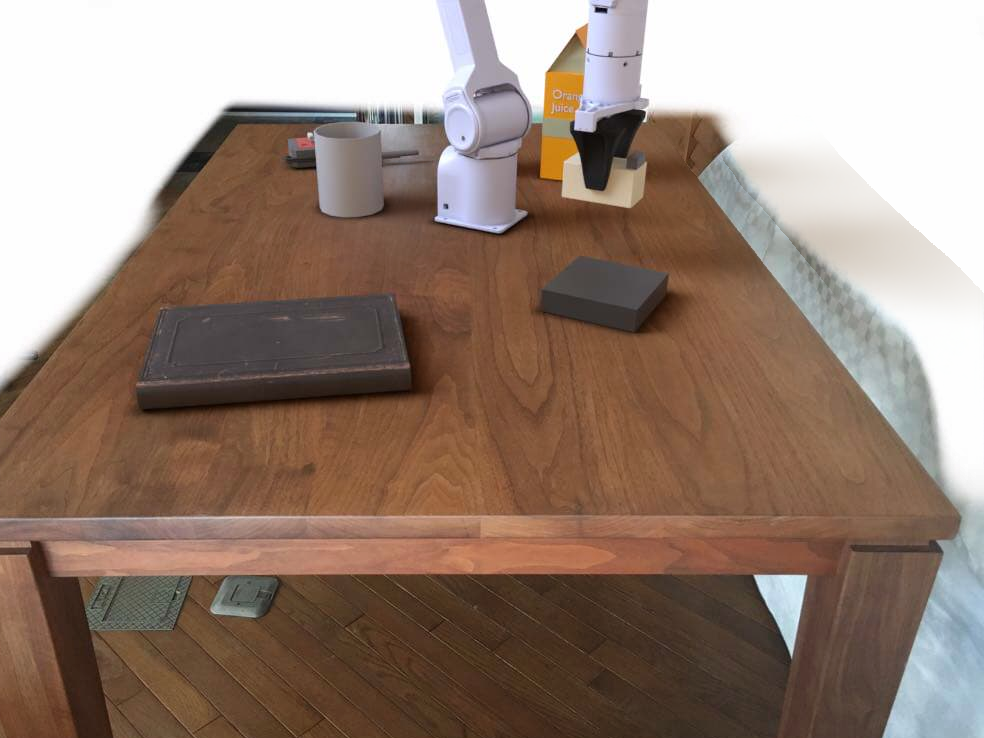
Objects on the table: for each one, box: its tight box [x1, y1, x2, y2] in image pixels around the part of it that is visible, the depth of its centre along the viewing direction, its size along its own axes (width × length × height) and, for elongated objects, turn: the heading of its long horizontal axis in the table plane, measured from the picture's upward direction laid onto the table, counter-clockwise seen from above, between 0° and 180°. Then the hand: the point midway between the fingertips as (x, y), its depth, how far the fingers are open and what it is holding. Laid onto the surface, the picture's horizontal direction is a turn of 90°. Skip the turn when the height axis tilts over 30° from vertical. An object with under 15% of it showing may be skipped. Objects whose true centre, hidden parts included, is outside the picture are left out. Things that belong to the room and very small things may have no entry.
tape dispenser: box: [561, 150, 648, 209], centre depth 98 cm, size 8×4×7 cm, turn 61°
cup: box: [313, 121, 385, 218], centre depth 117 cm, size 8×8×10 cm
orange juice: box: [539, 22, 588, 181], centre depth 126 cm, size 8×9×20 cm
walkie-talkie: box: [283, 132, 420, 169], centre depth 136 cm, size 9×4×20 cm
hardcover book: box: [135, 292, 412, 410], centre depth 83 cm, size 16×23×2 cm
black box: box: [540, 255, 670, 333], centre depth 93 cm, size 10×10×2 cm
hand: (602, 183), depth 99 cm, fingers closed on tape dispenser, 4 cm apart
